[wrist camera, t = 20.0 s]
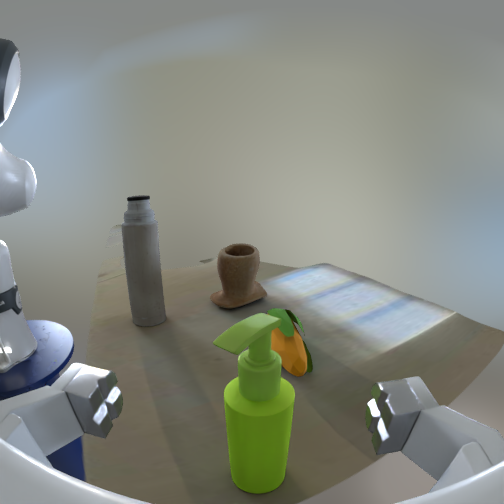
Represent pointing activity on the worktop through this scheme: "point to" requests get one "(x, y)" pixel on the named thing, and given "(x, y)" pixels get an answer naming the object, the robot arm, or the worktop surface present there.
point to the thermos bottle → (143, 262)
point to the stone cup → (238, 276)
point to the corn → (290, 343)
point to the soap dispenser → (257, 406)
